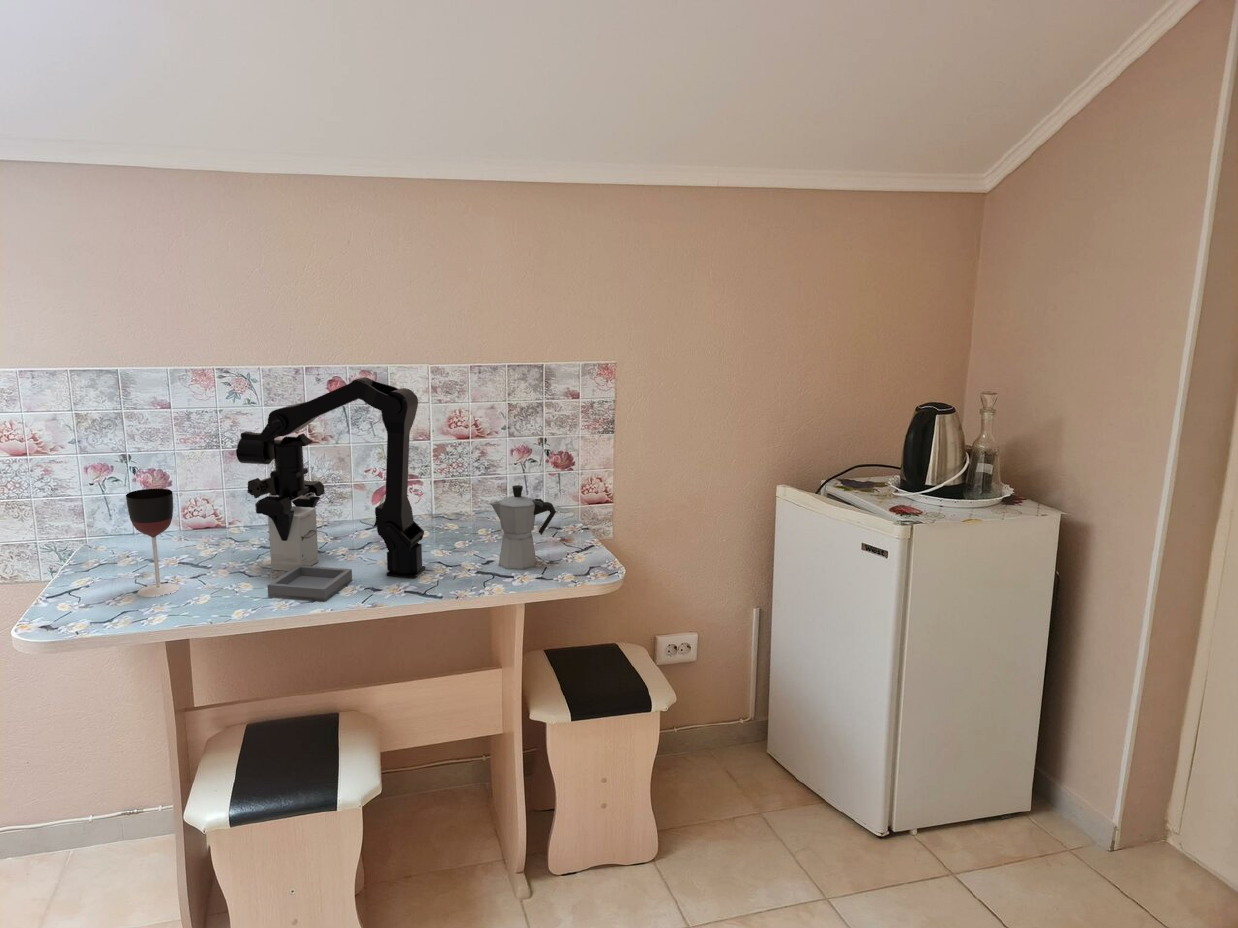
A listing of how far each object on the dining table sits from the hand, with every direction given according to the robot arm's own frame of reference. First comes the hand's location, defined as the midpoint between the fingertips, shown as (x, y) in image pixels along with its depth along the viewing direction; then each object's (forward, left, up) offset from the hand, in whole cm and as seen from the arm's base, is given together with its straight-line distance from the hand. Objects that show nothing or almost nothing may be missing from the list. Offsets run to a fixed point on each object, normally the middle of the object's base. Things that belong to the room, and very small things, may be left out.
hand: (293, 535), depth 188 cm
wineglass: (+19, +19, -7) cm, 28 cm away
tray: (-10, +12, -7) cm, 17 cm away
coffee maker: (-48, -12, -7) cm, 50 cm away
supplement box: (0, 0, -7) cm, 7 cm away
